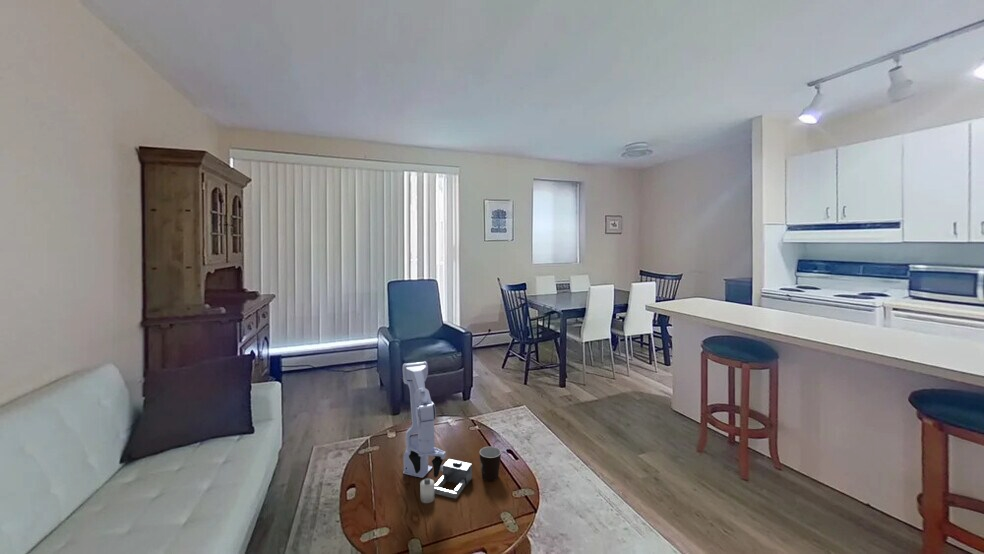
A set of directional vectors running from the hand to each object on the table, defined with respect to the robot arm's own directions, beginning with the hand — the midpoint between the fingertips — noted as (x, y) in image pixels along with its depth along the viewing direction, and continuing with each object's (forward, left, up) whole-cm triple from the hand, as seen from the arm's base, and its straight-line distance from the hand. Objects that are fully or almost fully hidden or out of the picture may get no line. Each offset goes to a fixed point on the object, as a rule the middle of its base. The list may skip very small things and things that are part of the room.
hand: (427, 473), depth 141 cm
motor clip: (+4, +10, -9) cm, 14 cm away
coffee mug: (+16, +22, -10) cm, 29 cm away
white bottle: (0, 0, -9) cm, 9 cm away
